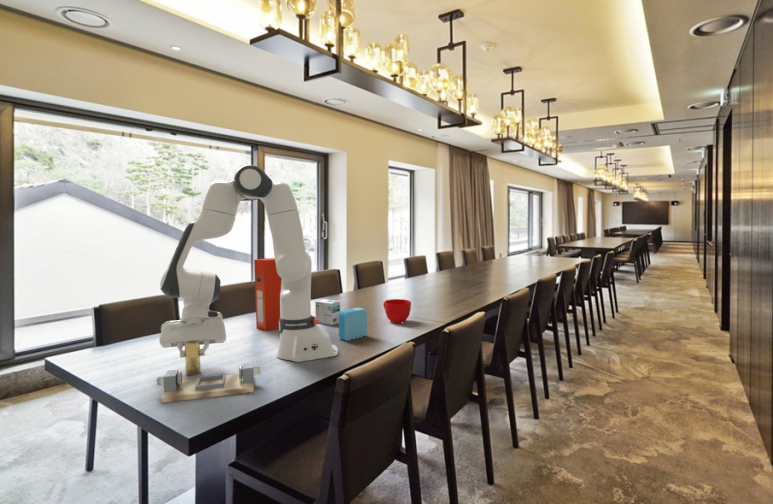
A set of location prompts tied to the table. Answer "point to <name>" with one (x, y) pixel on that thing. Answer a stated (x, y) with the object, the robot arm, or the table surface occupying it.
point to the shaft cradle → (207, 384)
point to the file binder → (267, 294)
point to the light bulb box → (327, 311)
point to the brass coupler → (192, 358)
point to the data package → (352, 323)
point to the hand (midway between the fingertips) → (192, 355)
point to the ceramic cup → (397, 310)
